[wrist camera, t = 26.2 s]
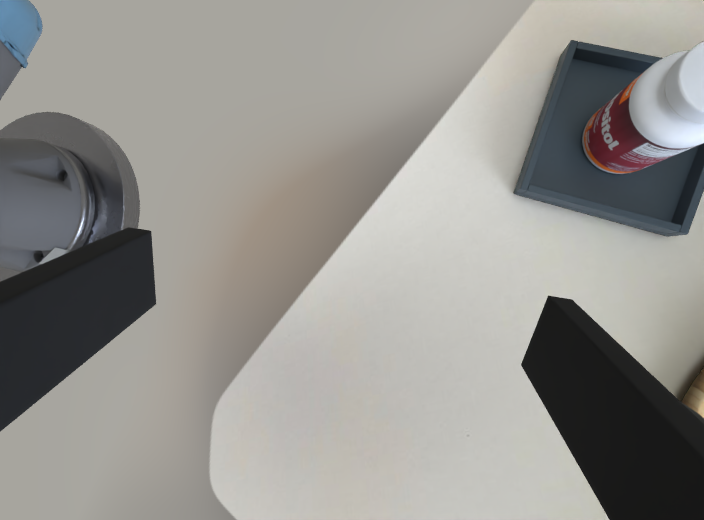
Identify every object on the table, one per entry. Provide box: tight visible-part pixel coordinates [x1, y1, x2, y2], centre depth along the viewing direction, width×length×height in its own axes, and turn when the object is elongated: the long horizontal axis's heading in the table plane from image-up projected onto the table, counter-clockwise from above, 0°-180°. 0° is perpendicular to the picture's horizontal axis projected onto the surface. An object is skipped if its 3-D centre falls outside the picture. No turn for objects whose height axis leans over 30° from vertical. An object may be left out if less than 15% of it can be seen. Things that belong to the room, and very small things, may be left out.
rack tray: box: [514, 40, 704, 236], centre depth 31 cm, size 13×13×2 cm
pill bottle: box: [582, 41, 704, 174], centre depth 26 cm, size 6×6×11 cm
